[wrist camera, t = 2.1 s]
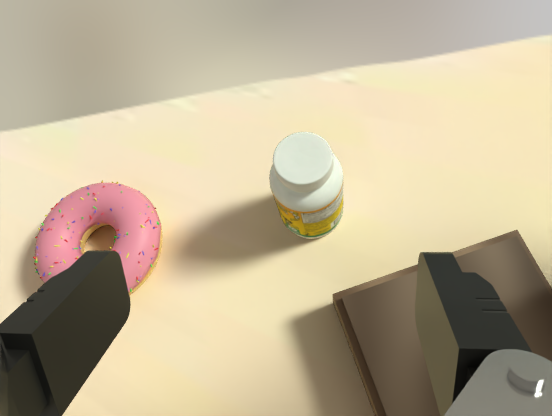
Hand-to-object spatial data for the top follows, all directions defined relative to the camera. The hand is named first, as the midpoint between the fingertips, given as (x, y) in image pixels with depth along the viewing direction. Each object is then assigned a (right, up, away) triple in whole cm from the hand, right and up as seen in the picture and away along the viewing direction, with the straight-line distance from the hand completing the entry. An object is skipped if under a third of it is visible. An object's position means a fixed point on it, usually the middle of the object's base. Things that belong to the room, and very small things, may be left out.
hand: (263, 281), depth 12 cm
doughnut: (-14, -2, +28) cm, 31 cm away
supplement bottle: (+3, +2, +26) cm, 27 cm away
